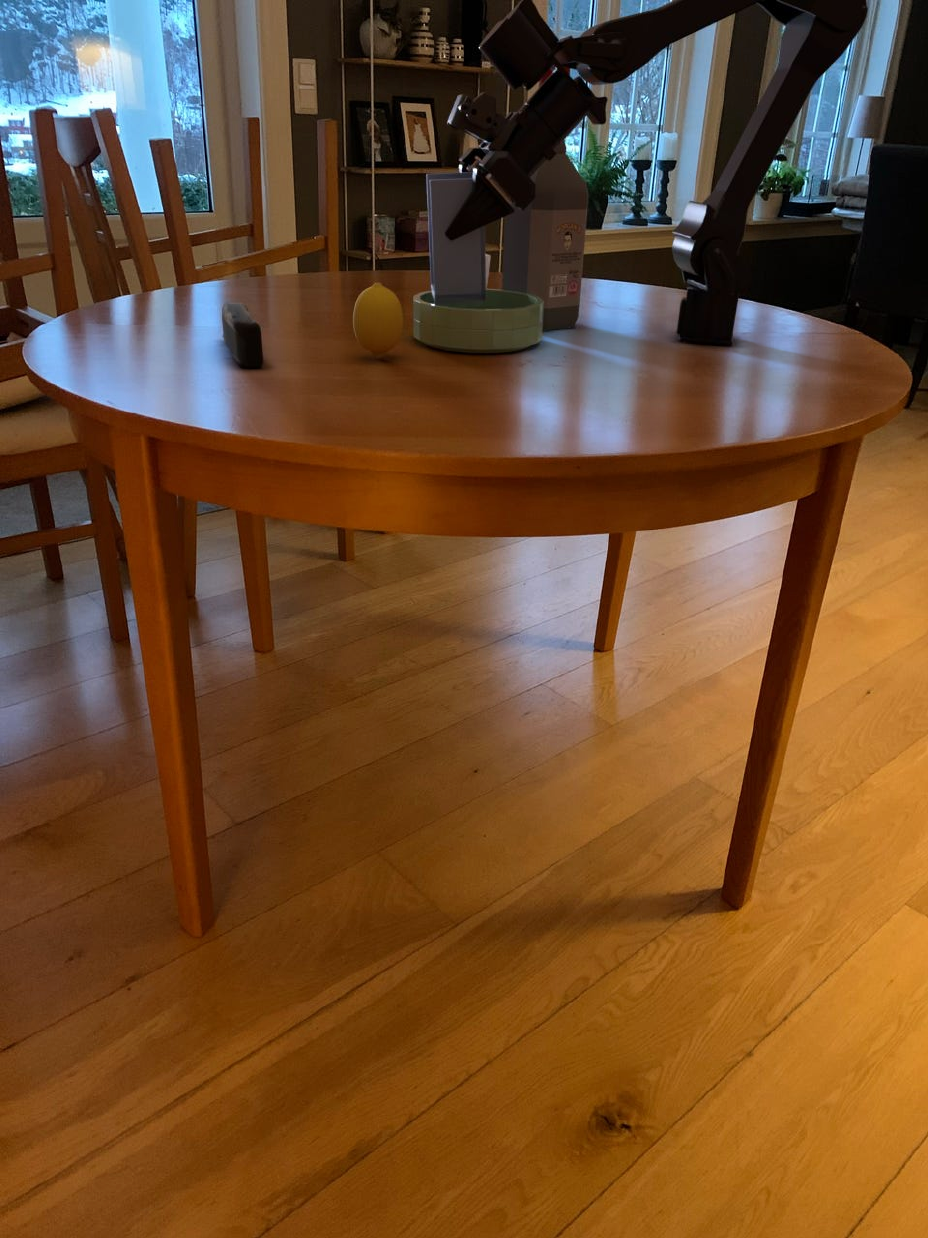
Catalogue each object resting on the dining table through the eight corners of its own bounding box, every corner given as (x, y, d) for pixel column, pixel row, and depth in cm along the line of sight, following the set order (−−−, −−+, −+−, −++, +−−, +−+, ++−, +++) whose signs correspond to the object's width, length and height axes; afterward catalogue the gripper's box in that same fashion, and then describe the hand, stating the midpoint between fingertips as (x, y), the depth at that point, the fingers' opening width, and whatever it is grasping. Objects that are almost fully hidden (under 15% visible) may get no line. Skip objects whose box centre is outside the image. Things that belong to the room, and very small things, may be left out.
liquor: (587, 326, 120) (610, 62, 105) (533, 332, 115) (549, 57, 101) (544, 315, 126) (560, 65, 112) (492, 320, 122) (501, 61, 107)
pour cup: (479, 289, 110) (478, 171, 103) (486, 300, 105) (484, 177, 98) (431, 291, 109) (426, 173, 102) (434, 303, 104) (430, 180, 97)
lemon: (384, 365, 97) (382, 288, 93) (344, 358, 100) (341, 282, 96) (413, 356, 101) (413, 282, 98) (374, 350, 104) (372, 277, 100)
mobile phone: (264, 322, 93) (239, 294, 105) (235, 323, 92) (212, 295, 103) (268, 370, 95) (242, 338, 107) (239, 372, 94) (217, 339, 106)
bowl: (551, 334, 115) (554, 293, 112) (526, 359, 101) (528, 314, 99) (435, 324, 118) (435, 284, 116) (395, 348, 105) (395, 303, 103)
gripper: (477, 68, 104) (386, 175, 108) (508, 58, 88) (400, 184, 92) (540, 145, 109) (451, 244, 113) (581, 149, 93) (475, 264, 97)
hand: (443, 233), depth 103 cm, fingers closed on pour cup, 7 cm apart
